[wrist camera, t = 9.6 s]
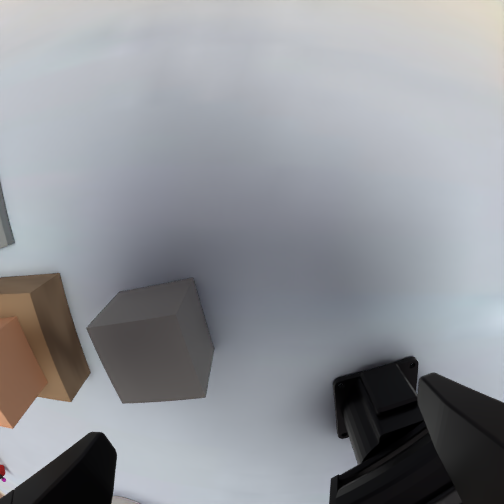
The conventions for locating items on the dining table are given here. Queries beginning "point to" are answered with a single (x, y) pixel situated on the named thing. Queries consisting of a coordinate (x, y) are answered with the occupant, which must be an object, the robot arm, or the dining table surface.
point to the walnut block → (47, 331)
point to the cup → (122, 500)
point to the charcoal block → (155, 343)
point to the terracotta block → (17, 373)
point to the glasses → (2, 473)
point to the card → (4, 225)
